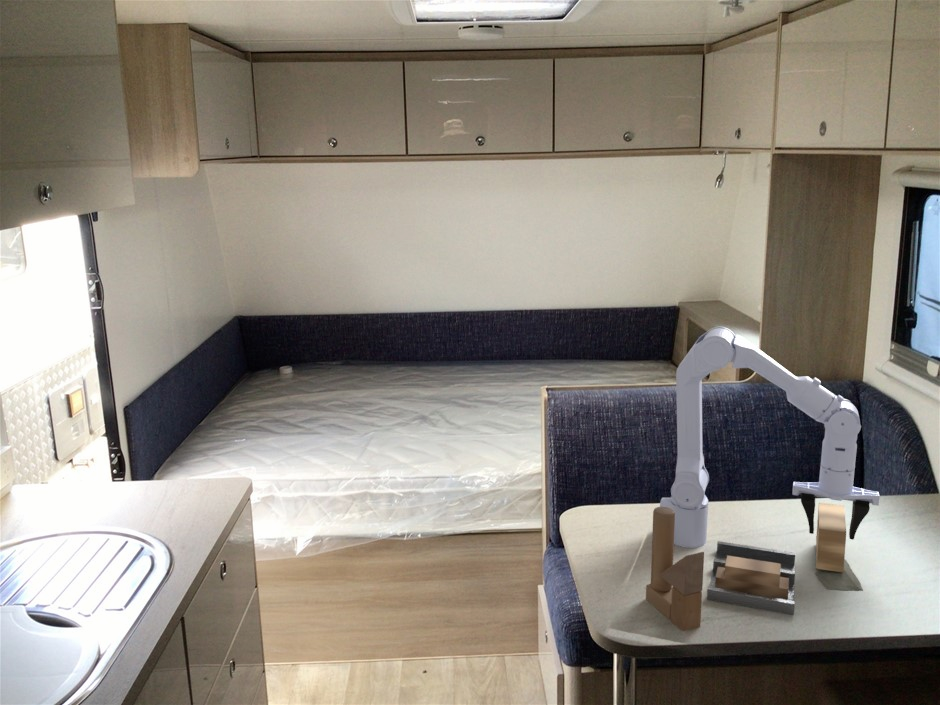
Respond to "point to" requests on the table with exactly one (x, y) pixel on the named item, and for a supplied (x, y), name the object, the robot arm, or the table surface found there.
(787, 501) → the table surface
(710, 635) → the table surface
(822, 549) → the oak board
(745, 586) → the walnut offcut lower
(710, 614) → the table surface
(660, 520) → the wooden block
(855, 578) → the stone slab
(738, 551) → the rack
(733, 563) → the walnut offcut upper
